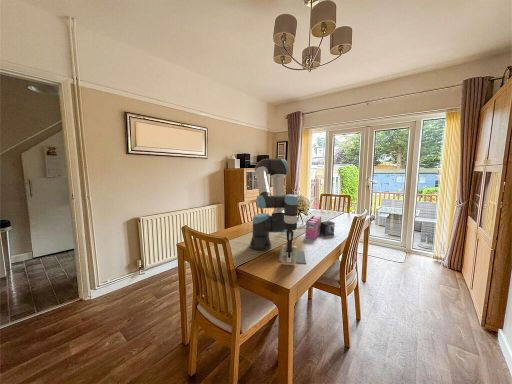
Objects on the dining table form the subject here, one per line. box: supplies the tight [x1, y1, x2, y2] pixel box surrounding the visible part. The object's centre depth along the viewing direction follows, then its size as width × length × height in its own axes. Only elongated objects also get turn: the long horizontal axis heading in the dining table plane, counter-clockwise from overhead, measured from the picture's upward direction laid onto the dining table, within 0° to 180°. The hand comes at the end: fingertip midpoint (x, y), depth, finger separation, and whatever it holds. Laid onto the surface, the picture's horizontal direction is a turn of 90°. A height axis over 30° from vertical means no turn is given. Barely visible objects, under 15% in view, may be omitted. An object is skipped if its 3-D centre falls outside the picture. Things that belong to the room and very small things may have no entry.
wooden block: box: [281, 244, 297, 265], centre depth 124 cm, size 8×3×10 cm, turn 81°
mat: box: [278, 249, 307, 265], centre depth 136 cm, size 16×18×1 cm
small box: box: [319, 220, 335, 237], centre depth 181 cm, size 11×6×10 cm, turn 115°
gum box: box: [305, 215, 322, 240], centre depth 180 cm, size 24×8×14 cm, turn 151°
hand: (288, 260), depth 125 cm, fingers closed on wooden block, 2 cm apart
